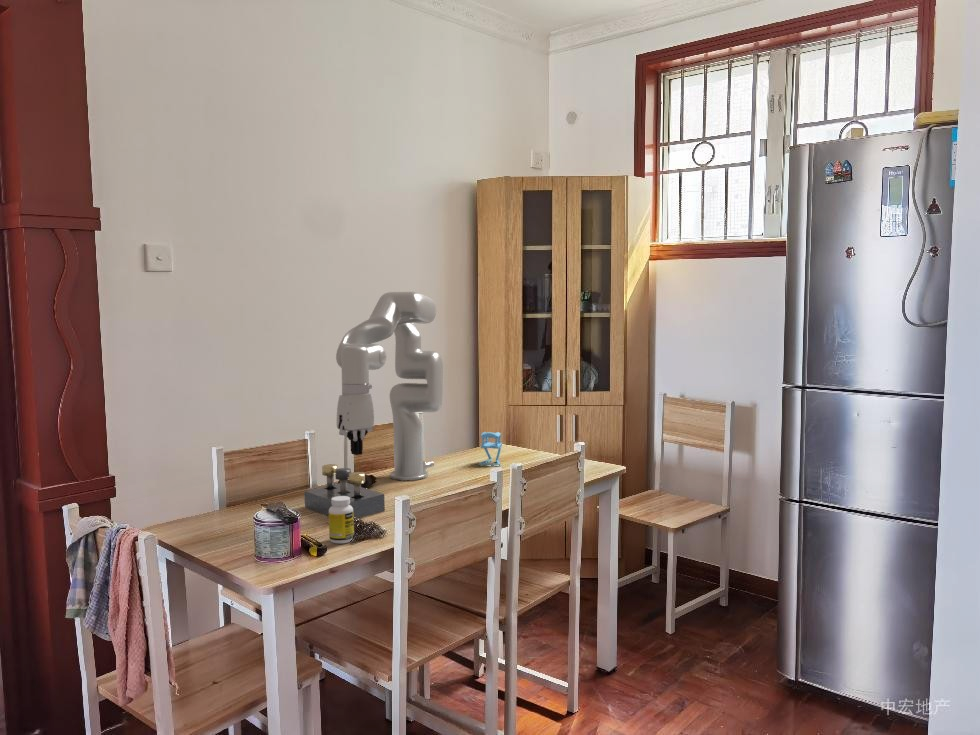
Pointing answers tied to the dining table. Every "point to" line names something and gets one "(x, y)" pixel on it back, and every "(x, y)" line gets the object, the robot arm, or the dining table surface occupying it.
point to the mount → (362, 507)
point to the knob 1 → (329, 474)
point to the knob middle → (343, 478)
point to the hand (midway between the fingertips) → (356, 454)
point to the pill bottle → (341, 520)
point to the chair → (491, 446)
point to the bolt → (366, 481)
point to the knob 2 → (357, 482)
